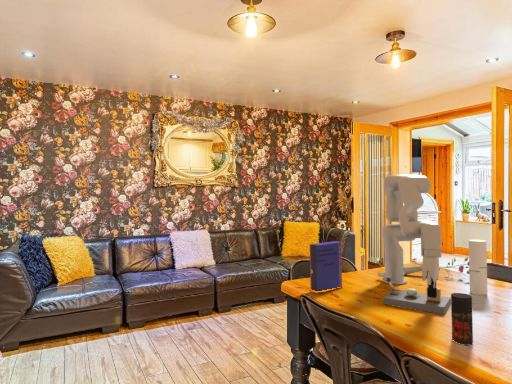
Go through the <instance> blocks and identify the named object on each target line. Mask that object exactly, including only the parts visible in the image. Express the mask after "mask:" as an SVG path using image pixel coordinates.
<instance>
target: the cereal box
mask: <svg viewBox="0 0 512 384" xmlns="http://www.w3.org/2000/svg"><path fill="white" fill-rule="evenodd" d="M342 261H343V260H342V242H341V241H337V240H336V241H335V240H333V241H325V242H317V243H311V244H309V280H310V281H309V282H310V290H311V289H312V290H315V291H322V290H327V289H332V288H337V287H342V288H343V272H342V271H343V270H342V269H343V265H342V264H343V263H342Z"/></svg>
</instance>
